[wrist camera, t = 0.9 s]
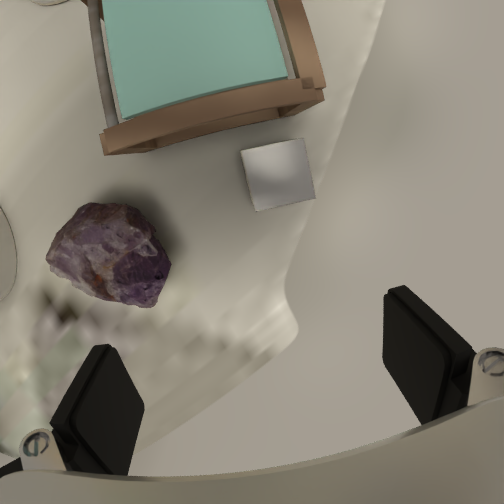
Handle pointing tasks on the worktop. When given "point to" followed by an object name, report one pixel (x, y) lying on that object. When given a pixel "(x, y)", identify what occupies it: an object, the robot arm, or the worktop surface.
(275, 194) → the gray cube
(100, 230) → the rock
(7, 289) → the toilet paper roll
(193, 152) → the worktop surface
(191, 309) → the worktop surface
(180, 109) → the frame
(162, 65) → the trapdoor
